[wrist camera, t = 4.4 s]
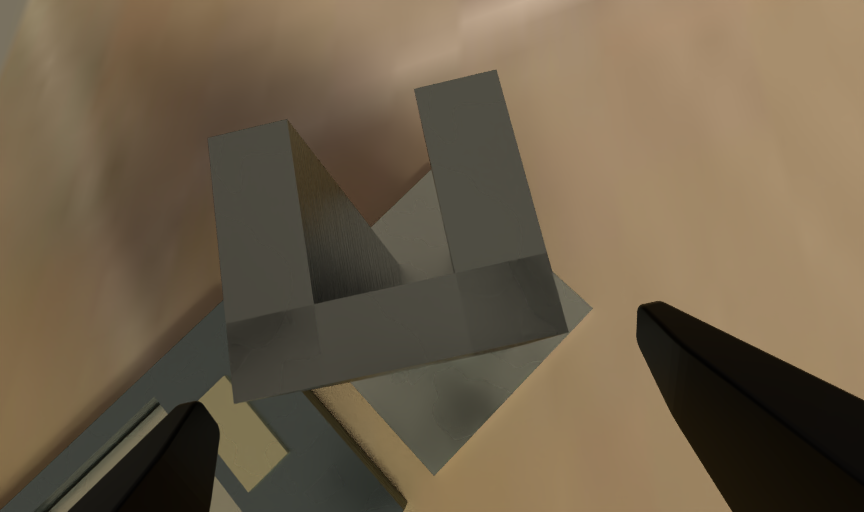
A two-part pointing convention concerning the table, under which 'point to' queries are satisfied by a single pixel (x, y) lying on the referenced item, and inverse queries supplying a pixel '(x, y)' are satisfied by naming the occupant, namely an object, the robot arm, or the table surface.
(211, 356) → the rail plate
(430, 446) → the grey square plate
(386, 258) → the grey clip
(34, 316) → the table surface
